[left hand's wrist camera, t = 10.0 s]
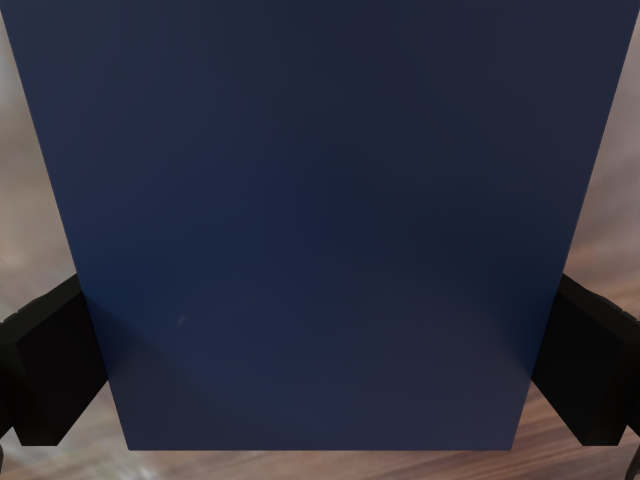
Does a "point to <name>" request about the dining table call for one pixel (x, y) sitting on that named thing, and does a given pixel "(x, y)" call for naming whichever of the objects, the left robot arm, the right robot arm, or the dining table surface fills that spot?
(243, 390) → the cabinet
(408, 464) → the dining table surface
